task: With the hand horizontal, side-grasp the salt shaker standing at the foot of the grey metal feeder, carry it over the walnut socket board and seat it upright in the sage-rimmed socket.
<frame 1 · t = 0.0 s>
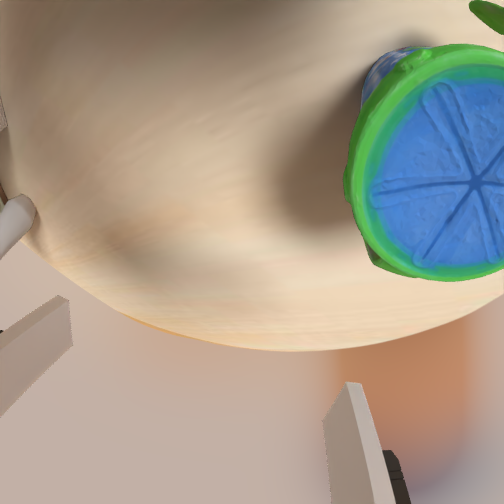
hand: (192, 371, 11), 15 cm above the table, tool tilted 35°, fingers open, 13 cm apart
snack cup: (415, 98, 14), on the table
salt shaker: (28, 203, 32), on the table
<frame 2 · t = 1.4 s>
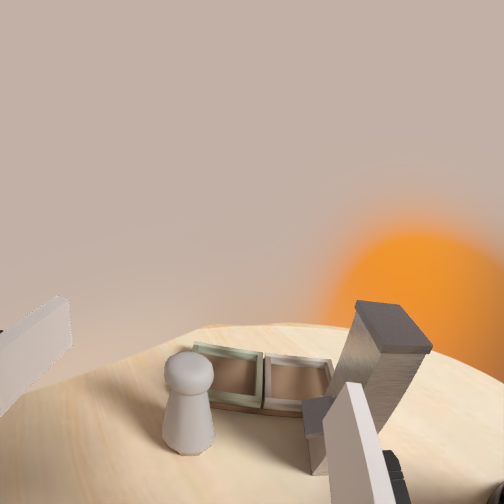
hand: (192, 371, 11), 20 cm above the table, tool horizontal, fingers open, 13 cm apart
feeder: (328, 449, 27), on the table
socket board: (261, 386, 37), on the table
salt shaker: (188, 443, 26), on the table
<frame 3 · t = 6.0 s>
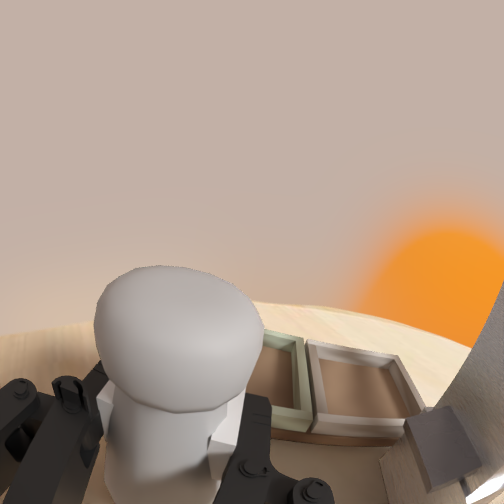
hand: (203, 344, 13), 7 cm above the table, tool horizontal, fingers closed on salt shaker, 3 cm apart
feeder: (416, 497, 11), on the table
socket board: (300, 393, 21), on the table
salt shaker: (163, 496, 10), on the table, touching gripper
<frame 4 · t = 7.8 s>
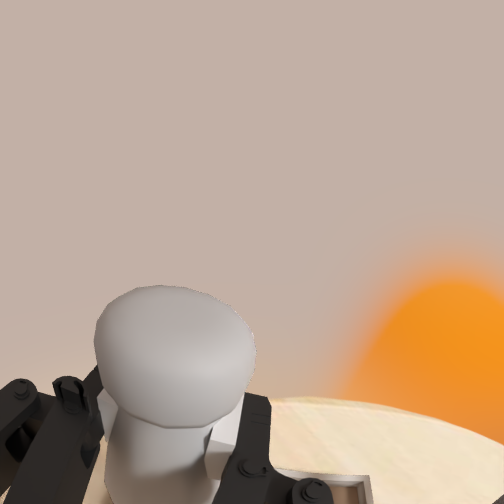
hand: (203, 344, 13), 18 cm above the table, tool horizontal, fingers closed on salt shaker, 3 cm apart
salt shaker: (162, 499, 10), point 9 cm above the table, touching gripper
when the fingers open (10 cm above the table, at t = 9.7 s): salt shaker stays where it is, resting on socket board.
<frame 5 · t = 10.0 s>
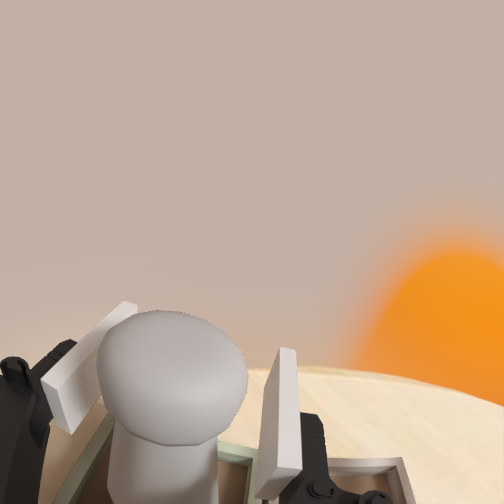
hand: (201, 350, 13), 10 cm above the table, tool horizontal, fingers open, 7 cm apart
salt shaker: (162, 503, 11), point 1 cm above the table, touching socket board
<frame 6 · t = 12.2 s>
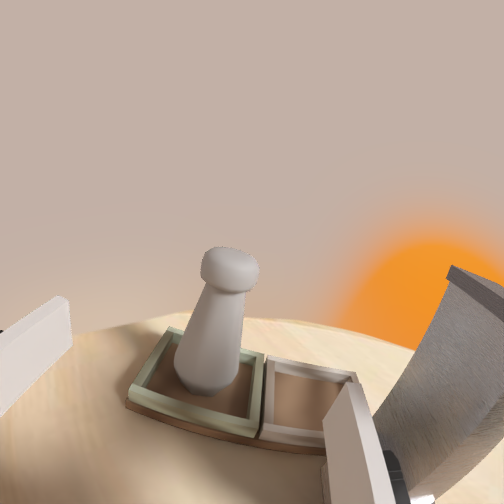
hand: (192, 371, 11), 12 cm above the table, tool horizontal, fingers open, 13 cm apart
socket board: (256, 403, 25), on the table
salt shaker: (201, 382, 24), point 1 cm above the table, touching socket board
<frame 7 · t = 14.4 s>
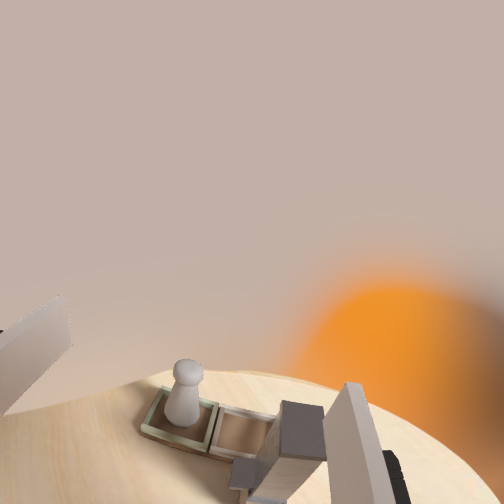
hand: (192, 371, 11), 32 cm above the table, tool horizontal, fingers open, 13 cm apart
feeder: (256, 495, 29), on the table
socket board: (212, 432, 40), on the table
salt shaker: (180, 420, 40), point 1 cm above the table, touching socket board
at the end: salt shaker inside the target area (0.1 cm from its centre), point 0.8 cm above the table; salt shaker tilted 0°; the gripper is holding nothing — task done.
